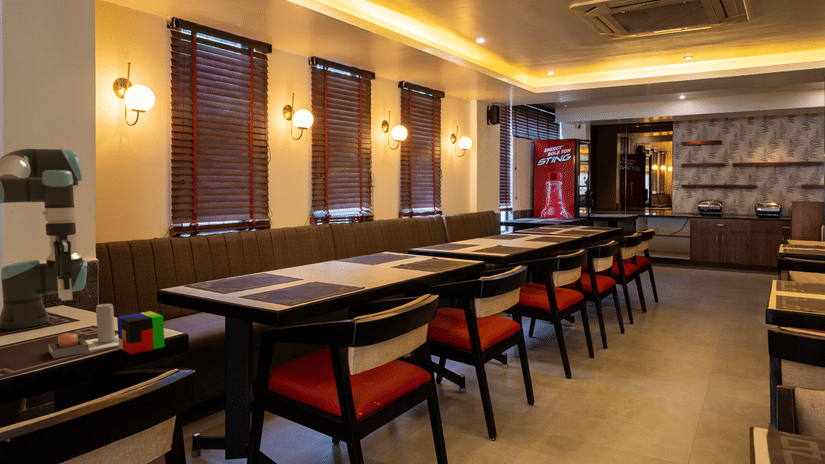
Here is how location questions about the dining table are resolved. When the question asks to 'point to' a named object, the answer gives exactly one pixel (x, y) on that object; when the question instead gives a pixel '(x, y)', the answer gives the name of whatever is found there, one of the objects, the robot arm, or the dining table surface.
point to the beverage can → (105, 323)
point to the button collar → (68, 349)
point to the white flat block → (101, 344)
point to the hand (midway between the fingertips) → (65, 298)
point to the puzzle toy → (140, 332)
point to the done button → (68, 340)
